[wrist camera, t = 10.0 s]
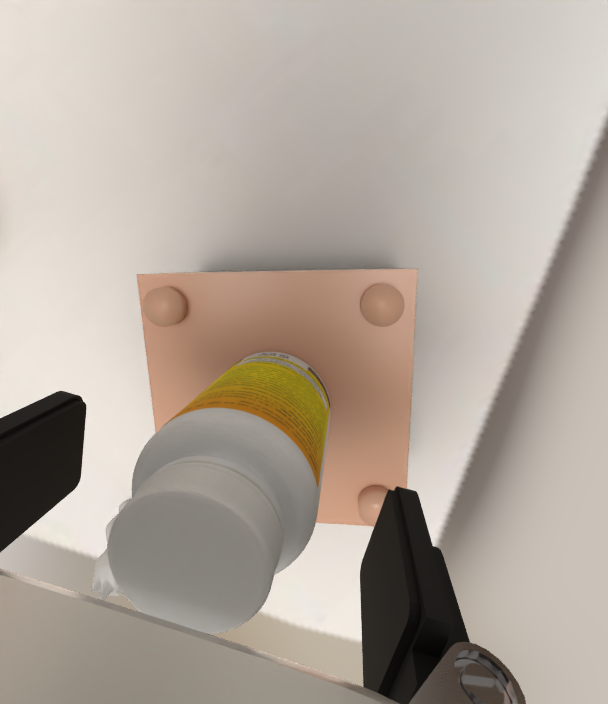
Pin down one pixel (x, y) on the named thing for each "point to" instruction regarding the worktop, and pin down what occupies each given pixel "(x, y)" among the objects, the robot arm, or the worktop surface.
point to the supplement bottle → (224, 496)
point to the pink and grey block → (306, 344)
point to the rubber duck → (106, 570)
